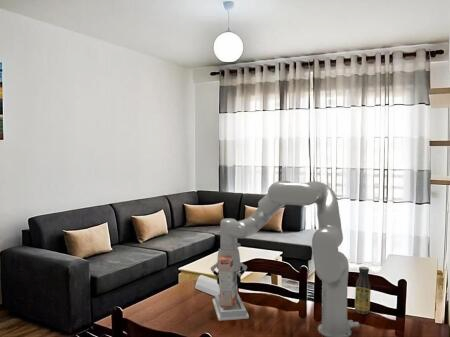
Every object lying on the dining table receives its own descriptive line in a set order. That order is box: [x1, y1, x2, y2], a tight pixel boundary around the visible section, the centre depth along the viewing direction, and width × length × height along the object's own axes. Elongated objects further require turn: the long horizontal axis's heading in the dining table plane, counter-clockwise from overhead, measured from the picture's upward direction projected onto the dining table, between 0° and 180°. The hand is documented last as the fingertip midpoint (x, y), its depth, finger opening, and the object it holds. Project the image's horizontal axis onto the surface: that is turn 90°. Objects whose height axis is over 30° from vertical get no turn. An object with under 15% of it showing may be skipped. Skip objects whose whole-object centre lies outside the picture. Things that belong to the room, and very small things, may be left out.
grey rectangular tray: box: [212, 293, 250, 322], centre depth 180 cm, size 13×22×4 cm, turn 8°
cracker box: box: [218, 257, 239, 307], centre depth 179 cm, size 14×6×21 cm, turn 169°
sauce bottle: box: [354, 266, 372, 315], centre depth 175 cm, size 7×6×20 cm
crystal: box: [195, 274, 220, 297], centre depth 201 cm, size 7×7×24 cm
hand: (228, 284), depth 179 cm, fingers open, 7 cm apart
